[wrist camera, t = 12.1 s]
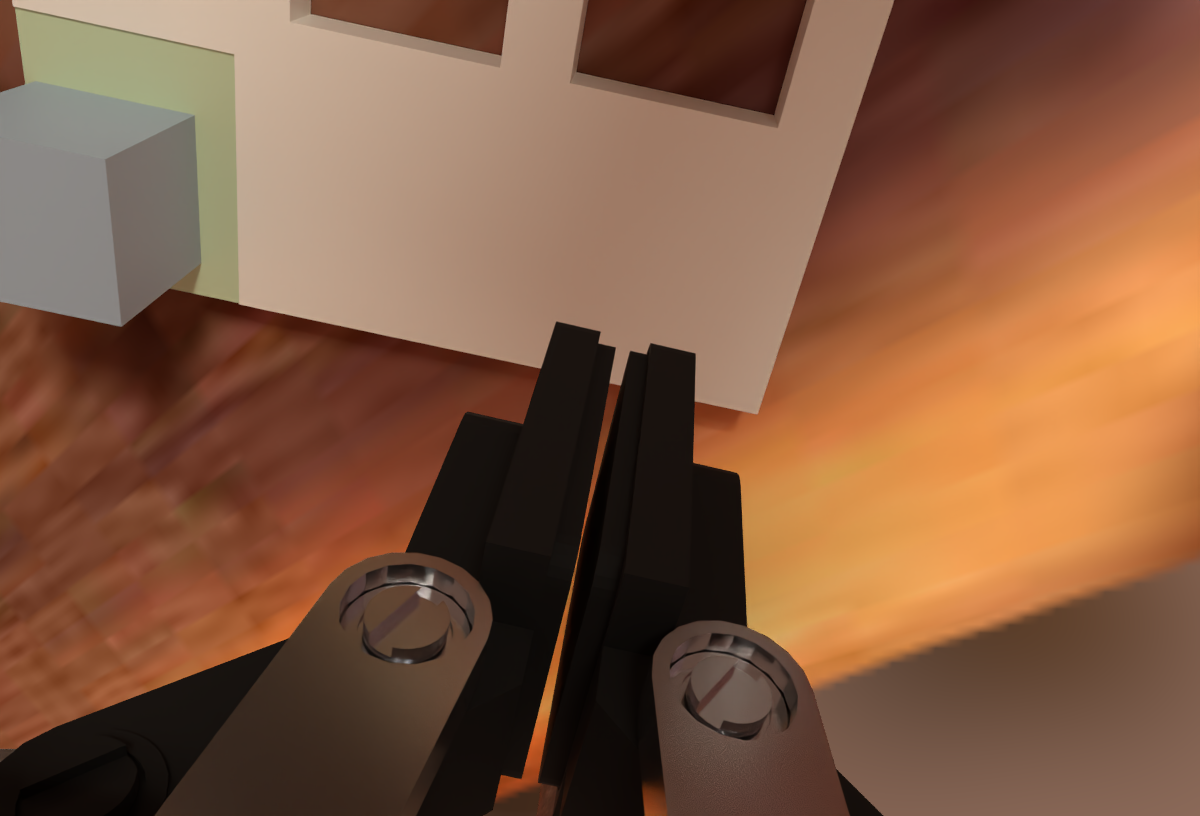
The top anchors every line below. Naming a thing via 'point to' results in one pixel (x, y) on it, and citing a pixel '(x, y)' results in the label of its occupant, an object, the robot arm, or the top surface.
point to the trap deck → (482, 175)
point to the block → (94, 202)
